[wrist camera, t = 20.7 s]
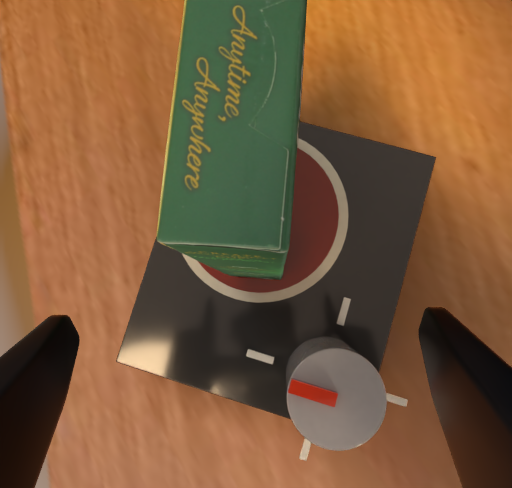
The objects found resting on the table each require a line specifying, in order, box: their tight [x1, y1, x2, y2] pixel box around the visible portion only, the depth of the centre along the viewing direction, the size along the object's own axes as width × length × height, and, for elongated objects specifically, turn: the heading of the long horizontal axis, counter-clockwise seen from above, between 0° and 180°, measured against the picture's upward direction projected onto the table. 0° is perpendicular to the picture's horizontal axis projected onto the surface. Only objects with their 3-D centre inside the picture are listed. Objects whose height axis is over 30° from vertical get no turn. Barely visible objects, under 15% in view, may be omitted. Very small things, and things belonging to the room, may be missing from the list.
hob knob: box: [285, 337, 387, 451], centre depth 18 cm, size 4×4×4 cm
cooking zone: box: [183, 138, 348, 303], centre depth 21 cm, size 9×9×1 cm
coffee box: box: [157, 0, 307, 280], centre depth 15 cm, size 8×3×13 cm, turn 175°
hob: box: [116, 122, 436, 461], centre depth 22 cm, size 17×15×3 cm
